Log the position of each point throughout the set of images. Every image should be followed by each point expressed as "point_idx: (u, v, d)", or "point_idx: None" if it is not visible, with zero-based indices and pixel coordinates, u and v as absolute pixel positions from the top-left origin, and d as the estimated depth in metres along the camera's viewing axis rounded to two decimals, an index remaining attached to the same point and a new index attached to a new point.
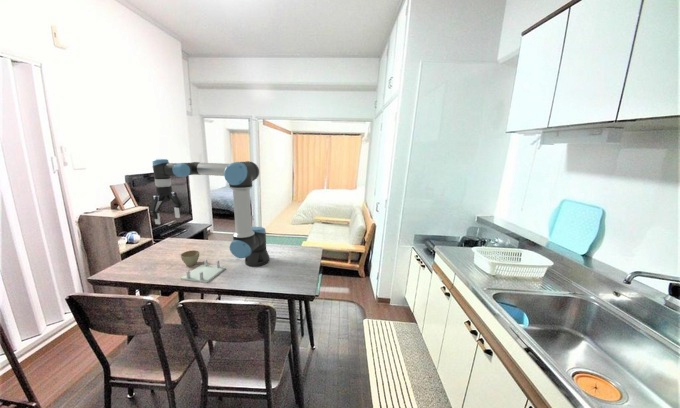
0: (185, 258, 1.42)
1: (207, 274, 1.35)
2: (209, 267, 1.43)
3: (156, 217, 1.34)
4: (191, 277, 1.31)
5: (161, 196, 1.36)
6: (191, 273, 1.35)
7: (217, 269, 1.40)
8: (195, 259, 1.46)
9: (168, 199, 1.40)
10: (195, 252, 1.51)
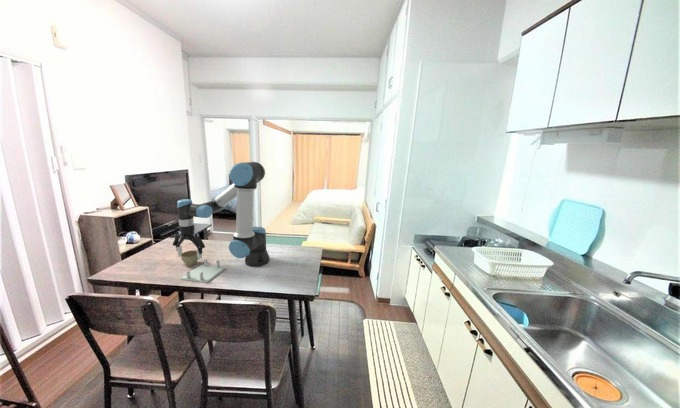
0: (185, 258, 1.42)
1: (207, 274, 1.35)
2: (209, 267, 1.43)
3: (177, 250, 1.47)
4: (191, 277, 1.31)
5: (181, 233, 1.43)
6: (191, 273, 1.35)
7: (217, 269, 1.40)
8: (195, 259, 1.46)
9: (188, 238, 1.43)
10: (195, 252, 1.51)
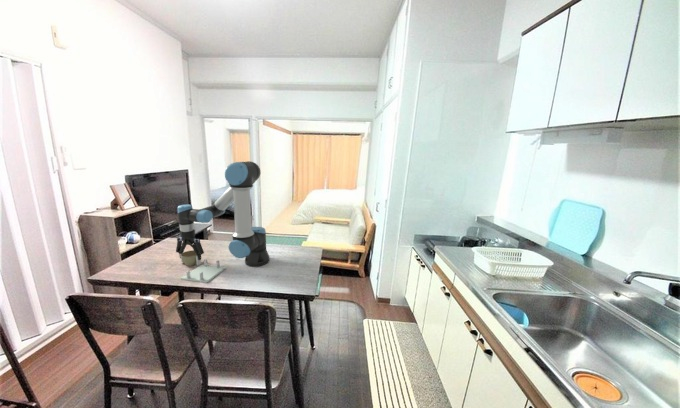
0: (185, 258, 1.42)
1: (207, 274, 1.35)
2: (209, 267, 1.43)
3: (180, 256, 1.47)
4: (191, 277, 1.31)
5: (182, 238, 1.44)
6: (191, 273, 1.35)
7: (217, 269, 1.40)
8: (195, 259, 1.46)
9: (188, 243, 1.44)
10: None
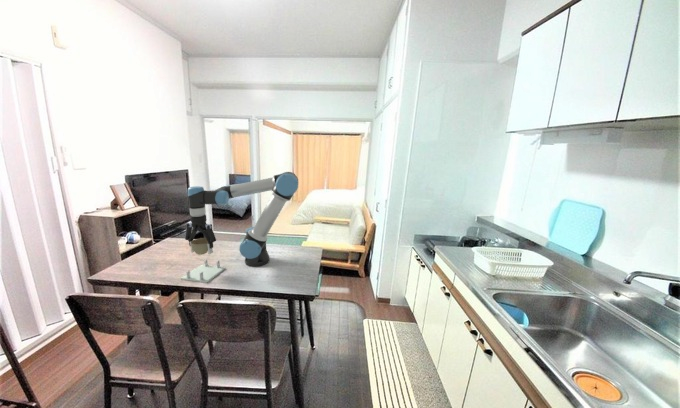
0: (195, 246, 1.28)
1: (207, 274, 1.35)
2: (209, 267, 1.43)
3: None
4: (191, 277, 1.31)
5: (192, 224, 1.30)
6: (191, 273, 1.35)
7: (217, 269, 1.40)
8: (206, 247, 1.32)
9: (199, 229, 1.30)
10: (206, 240, 1.38)
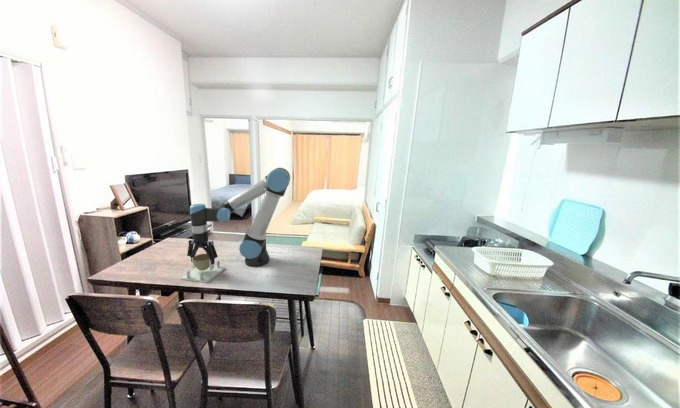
0: (197, 262, 1.30)
1: (207, 274, 1.35)
2: (209, 267, 1.43)
3: None
4: (191, 277, 1.31)
5: (194, 241, 1.32)
6: (191, 273, 1.35)
7: (217, 269, 1.40)
8: (208, 263, 1.34)
9: (201, 246, 1.32)
10: (207, 255, 1.40)
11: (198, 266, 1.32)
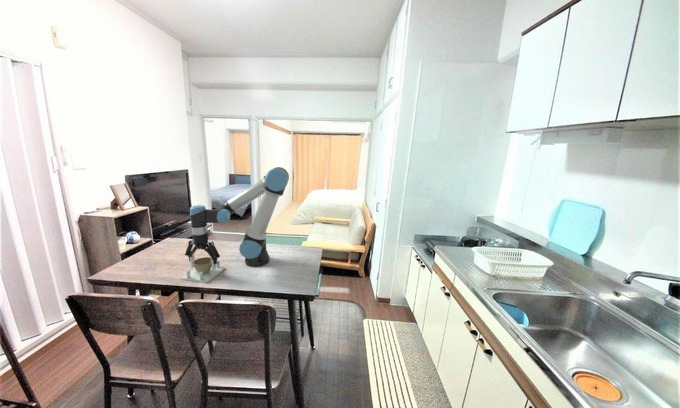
0: (198, 266, 1.31)
1: (207, 274, 1.35)
2: None
3: (190, 260, 1.36)
4: (191, 277, 1.31)
5: (194, 242, 1.32)
6: (191, 273, 1.35)
7: (217, 269, 1.40)
8: (209, 267, 1.34)
9: (201, 247, 1.32)
10: (208, 259, 1.40)
11: (199, 270, 1.32)
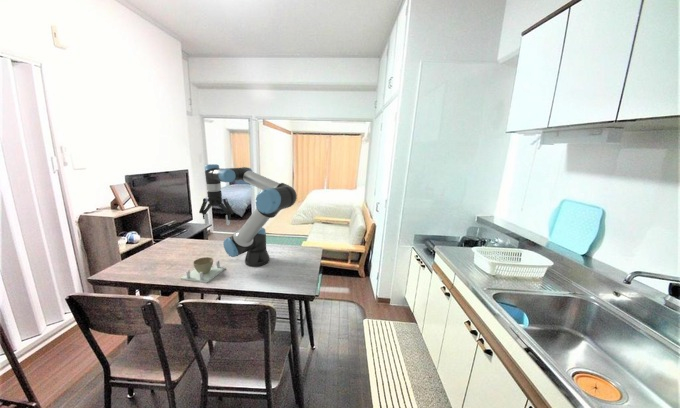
0: (198, 266, 1.31)
1: (207, 274, 1.35)
2: None
3: (204, 217, 1.44)
4: (191, 277, 1.31)
5: (208, 199, 1.41)
6: (191, 273, 1.35)
7: (217, 269, 1.40)
8: (209, 267, 1.34)
9: (216, 204, 1.42)
10: (208, 259, 1.40)
11: (199, 270, 1.32)
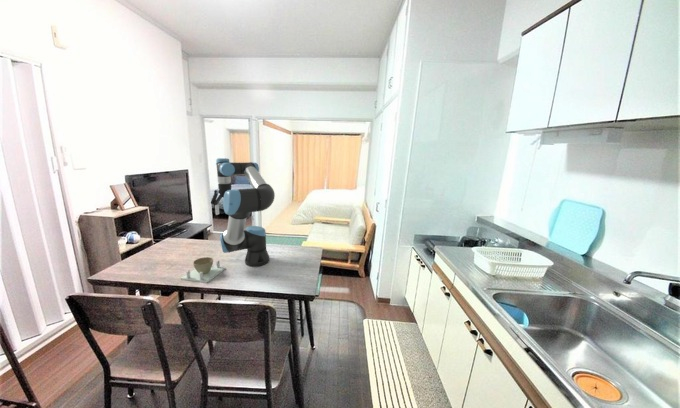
0: (198, 266, 1.31)
1: (207, 274, 1.35)
2: None
3: (215, 208, 1.55)
4: (191, 277, 1.31)
5: (219, 191, 1.51)
6: (191, 273, 1.35)
7: (217, 269, 1.40)
8: (209, 267, 1.34)
9: None
10: (208, 259, 1.40)
11: (199, 270, 1.32)
